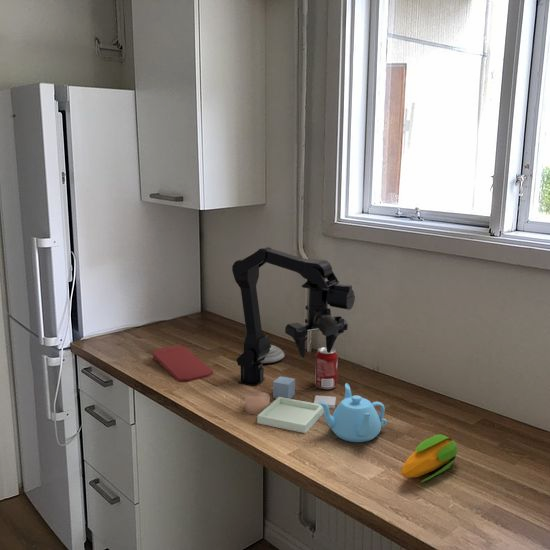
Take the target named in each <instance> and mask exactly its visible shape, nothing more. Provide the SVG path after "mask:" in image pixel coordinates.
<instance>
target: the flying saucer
mask: <svg viewBox="0 0 550 550" xmlns="http://www.w3.org/2000/svg"><path fill="white" fill-rule="evenodd" d="M270 345H271V348H270V352H269V353H268V355H267V356H266V357H265V360H263V361H261V362H262V364H272V363H276V362H279V361H281V360H282V359H284V358H285V353H284V351H283V350H282V349H281V348H280V347H278V346H276V345H274V344H271V343H270Z"/></svg>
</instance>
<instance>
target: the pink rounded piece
mask: <svg viewBox="0 0 550 550" xmlns="http://www.w3.org/2000/svg"><path fill="white" fill-rule="evenodd" d="M270 402H271V401H270V394H268V393H267V392H264V391H253V392H252V391H251V392H248V393H247V394H245V396H244V410H245V412H246V413H247V414H249V415H257V416H258V415H259V414H260V413H261V412H262V411H263V410H264V409H266V408H267V407H268V406H269V405H270V404H271V403H270Z"/></svg>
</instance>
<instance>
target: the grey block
mask: <svg viewBox="0 0 550 550" xmlns="http://www.w3.org/2000/svg"><path fill="white" fill-rule="evenodd" d="M336 400H337V397H336V396H329V395H315V397H314V401H313V403H315V404H319V403H317V402H324V403H326V404H327V405H328V407H329V409H335V408H336V402H337V401H336Z"/></svg>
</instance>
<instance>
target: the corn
mask: <svg viewBox="0 0 550 550" xmlns="http://www.w3.org/2000/svg"><path fill="white" fill-rule="evenodd" d="M458 452H459V451H458V447H457V443H456V441H455V440H452V438H450V437H448V436H447V435H443V434H435V435H433V436H430V437H428V438H426V439H424V440H423V441H422V442H420V443H418V445H417V446H416V447H415V451H413V453H411V454H410V456H409V457H407V459H406V460H405V462H404V463H403V465H402V466H401V470H400V475H401V476H402V477H403V478H406V479H407V478H408V479H409V478H418V477H422V476H424V475H426V474H428V473H430V472H434V471H435V470H437V469H439V468H440V467H442V466H443V467H442V468H441V469H439V470H438V471H436V472H435V473H433V474H431V475H430V476H428V477H426V478H424V479H422V480H421V482H420V483H423V482H426V481H428V480H431V479H432V478H433V477H436V476H437V475H440V474H441V473H444V471H446V470H448V469H450V468H451V466H453V465H452V464H453V463H454V461H455V459H456V456H457V455H458Z"/></svg>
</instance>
